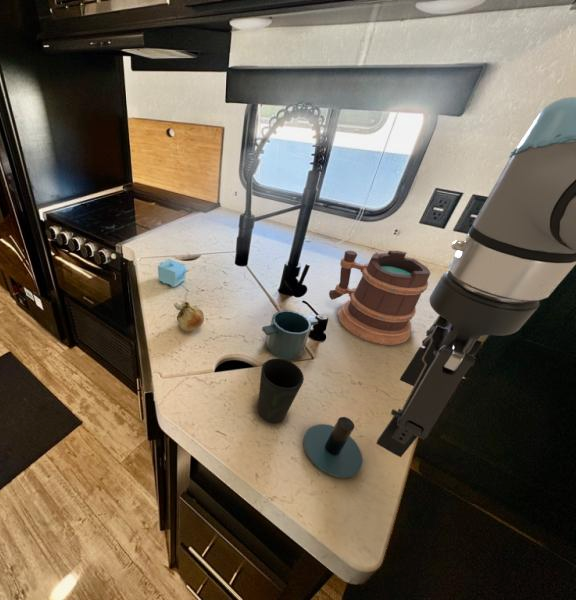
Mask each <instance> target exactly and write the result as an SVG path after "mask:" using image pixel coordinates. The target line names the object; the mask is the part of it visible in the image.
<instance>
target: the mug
mask: <svg viewBox="0 0 576 600" xmlns="http://www.w3.org/2000/svg"><path fill="white" fill-rule="evenodd" d="M406 255H407V252H406V251H402V250H388V252H387V253H385V252H383V253H378V252H375V253H373V254H372V256H371V258H370V259H369V262H367V263H363V264H362V263H358V262H356V258H358V253H357V252H356V251H354V250H346V251H344V255H343V257H342V258H340V263H339V265H340V274H339V283H337V284H336V285H335V288H334V289H331V290H329V291H328V296H329V298H330V300H333V301H334V300H336V299H339V298H341V297H342V296H344V295H346V294H348V297H349V299H348V300H347V301H346V302H344V304H343V305H342V306H341V307H340V308H339V310H338V313H337V317H338V321H339V322H340V324H341V325H342V327H344V328H345V329H346V330H347V331H349V332H350V333H351V334H353V335H354V336H357V337H358V338H361V339H362V340H366V341H369V342H371V343H374V344H379V345H380V344H381V345H387V346H388V345H389V346H390V345H399V344H402V343H405V342H407V341H408V339H409V338H410V337H411V329H412V319H413V317H415V314H416V313H417V311H416V309H417V308H416V306H417V304H418V302H419V300H420V298H421V295H422V294H423V293H424V292H425V291H426V290H427V289H428V286H429V278H430V276H431V271H430V269H429V268H428V267H427V266H425V264H423V263H421V262H419V261H418V260H417V259H415V258H411V257H406ZM352 269H356V270H359V271H360V272H361V275H362V276H361V278H360V280H359V282H358V284H357V286H356V288H349V286H350V285H349V284H350V279H351V273H352Z"/></svg>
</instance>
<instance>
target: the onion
mask: <svg viewBox="0 0 576 600" xmlns="http://www.w3.org/2000/svg"><path fill="white" fill-rule="evenodd" d="M173 307H174V308H175V309H176V310H177V311H178V314H177V316H176V321H177V323H178V326H179V327H180V329H182V331H183V330H184V331H185V332H193V331H196V330H199V329H200V327H201V326H202V325H203V323H204V321H205V314H204V312H203V310H202V309H201V308H199V307H198V306H196V305H192V306H191V304H190V302H189V301H184V302H182V303H181V305H180V304H178V302H174V303H173Z"/></svg>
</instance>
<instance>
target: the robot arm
mask: <svg viewBox="0 0 576 600" xmlns="http://www.w3.org/2000/svg"><path fill="white" fill-rule="evenodd" d="M508 158H509V159H508V160H507V162H506V164H505V166H504V168H503V169H502V171H501V173H500V174H499V177H498V178H497V180H496V182H495V184H494V186H493V187H492V188H491V190H490V192H489V195H488V196H487V198H486V199H485V202H484V203H483V205H482V207H481V208H480V210H479V212H478V214H477V216H476V217H475V219H474V220H473V223H472V225H471V227H470V228H469V230H468V233H467V234H466V235H465V237H464V238H465V241H464V240H459V239H458V240H455V241H453V242H452V244H451V246H450V247H451V249H452V250H454V251H456V252H455V255H454V256H453V258H452V260H451V261H450V262H449V264H448V270H447V271H445V272H444V273H442V275H441V277H440V278H439V281H438V282H437V284H436V286H435V287H434V289H433V290H432V292H431V294H430V296H429V305H430V307H431V308H432V310H433V311H434V312H435V313H436V314H437V315H438V316H437V318H436V319H435V321H434V322H433V324H432V325H431V326H430V327H429V328H428V329H427V330H426V332H425V336H426V337H425V338H424V339H422V342H421V343H422V344H421V346H419V347H418V349H417V350H416V352H415V353H414V355H413V357H412V358H411V360H410V362H409V363H408V365H407V367H406V368H405V369H404V371H403V373H402V374H401V376H400V378H399V381H401V382H403V383H406V384H408V385H409V386H412V389H411V391H410V393H409V394H408V397H407V399H406V400H405V402H404V404H403V406H402V408H398V409H394V408H392V409H391V411H390V415H391V416H393V417H392V418H391V420H389V422H388V423H387V425H386V427H385V428H384V429H383V431H382V432H381V434H380V435H379V437H378V438H377V440H376V445H378V446H379V447H381V448H383V449H385V450H386V451H388V452H390V453H392V454H394V455H395V456H397V457H398V458H402V456H403V455H404V454H406V452H407V451H408V450H409V448H410V447H411V446H412V444H413V443H414V442H415V440H416V439H417V438H420V439H421V440H423V441H424V440H426V439H427V438H428V437H429V436H430V432H431V430H432V429H433V427H434V426H435V424H436V422H437V421H438V419H439V417H440V415H441V414H442V412H443V411H444V409H445V407H446V406H447V404H448V402H449V401H450V399H451V397H452V396H453V394H454V393H455V391H456V390H457V387H458V386H459V385H460V383H461V381H462V379H463V378H464V377H465V375H466V374H467V372H468V371H469V370H470V369H471V368H472V367H473V366H474V365H475V364H476V356H474V355H476V354H477V353H478V352H479V350H480V348H481V347H482V345H483V341H482V340H479V339H480V337H481V336H495V337H498V336H499V337H501V336H502V337H504V336H510V335H513V334H515V333H517V332H518V331H519V330H520V329H521V328H522V327H523V326H524V325H525V324H526V323H527V321H528V320H529V319H530V318H531V317H532V315H533V314H534V313H535V312H536V311H537V309H539V307H540V304H541V302H540V301H542V300H544V299H548V298H549V296H551V294H552V293H553V292H554V291H555V290H556V288H557V287H558V286H559V285H560V283H561V282H563V280H564V279H565V278H566V277H567V275H568V274H569V273H570V271H572V270H573V268H574V267H575V266H576V96H569V97H564V98H563V97H562V98H560V99H557V100H555V101H553V102H550V103H549V104H548V105H546V106H545V107H544V108H543V109H541V111H540V112H539V113H538V114H537V117H535V119H534V121H533V122H532V124H531V125H530V127H529V129H528V130H527V131H526V133H525V134H524V136H523V138H522V139H521V140H520V142H519V144H518V145H517V146H516V148H514V150H513V151H511V152H510V153H509V156H508Z"/></svg>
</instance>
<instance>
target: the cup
mask: <svg viewBox="0 0 576 600" xmlns="http://www.w3.org/2000/svg"><path fill="white" fill-rule="evenodd" d="M260 371H261V372H260V378H259V379H260V380H259V391H258V399H257V400H258V401H257V413H258V415H259V417H260V418H261V419H262V420H263V421H265V422H267V423H270V424H279V423H281V422H282V421H283V420H284V419H285V418H286V416H287V414H288V411H289V410H290V409H291V406H292V404H293V402H294V400H295V398H296V397H297V395H298V394H299V391H300V389H301V387H302V385H303V383H304V380H305V378H304V376H305V375H304V372H303V371H302V370H301V368H300V367H299V366H297V364H295V363H294V362H292V361H291V360H288V359H282V358H279V357H277V358H271V359H268V360H266V361H264V362H263V364H262V366H261V370H260Z"/></svg>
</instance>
